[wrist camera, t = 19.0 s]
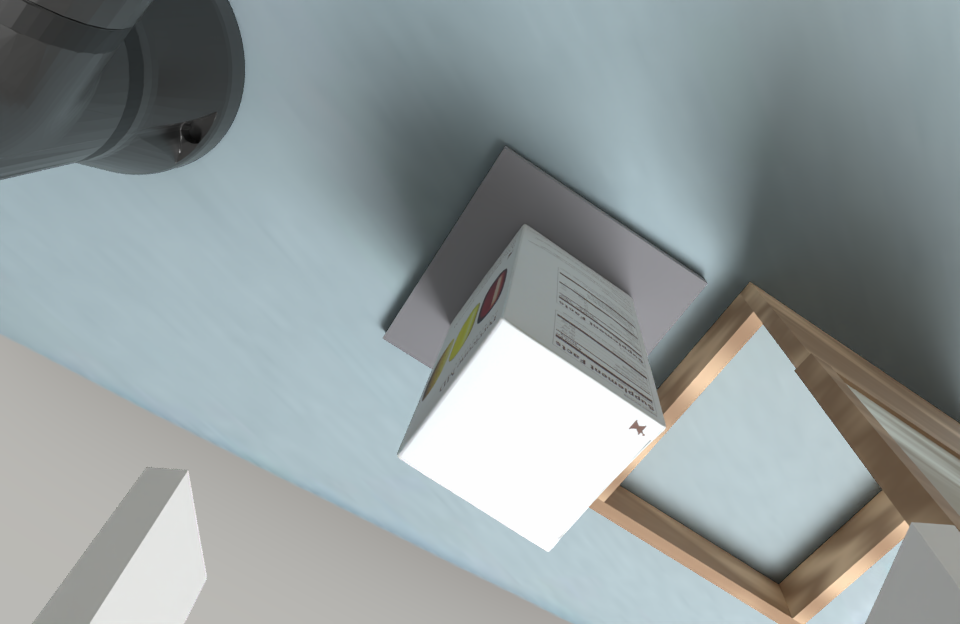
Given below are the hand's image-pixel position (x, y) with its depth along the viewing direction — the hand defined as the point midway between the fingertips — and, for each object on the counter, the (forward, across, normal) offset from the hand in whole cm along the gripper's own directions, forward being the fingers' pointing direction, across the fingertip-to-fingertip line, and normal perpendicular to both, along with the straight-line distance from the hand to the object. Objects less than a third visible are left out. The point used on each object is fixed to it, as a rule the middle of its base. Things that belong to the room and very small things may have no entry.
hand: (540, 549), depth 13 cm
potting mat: (+34, +2, -11) cm, 35 cm away
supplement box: (+33, +2, -11) cm, 35 cm away
